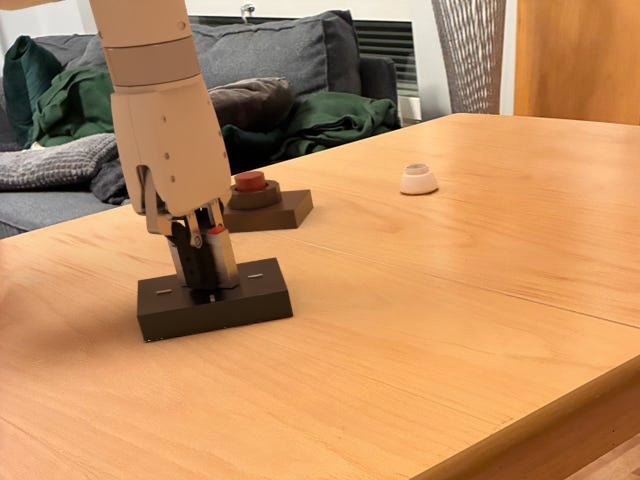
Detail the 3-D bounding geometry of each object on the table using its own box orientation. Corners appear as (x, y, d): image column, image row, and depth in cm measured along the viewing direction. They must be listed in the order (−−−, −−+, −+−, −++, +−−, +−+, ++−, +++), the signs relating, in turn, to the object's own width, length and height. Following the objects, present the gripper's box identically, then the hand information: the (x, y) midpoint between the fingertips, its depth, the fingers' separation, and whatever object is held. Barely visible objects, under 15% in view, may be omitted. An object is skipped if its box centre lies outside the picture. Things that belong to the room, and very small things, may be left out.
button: (233, 195, 116) (230, 179, 115) (242, 187, 119) (238, 172, 118) (262, 193, 116) (259, 177, 115) (270, 185, 119) (267, 169, 118)
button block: (201, 235, 117) (192, 200, 114) (222, 214, 124) (214, 180, 121) (297, 228, 116) (290, 193, 113) (313, 207, 123) (307, 173, 120)
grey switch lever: (179, 285, 94) (164, 229, 91) (189, 280, 95) (174, 224, 92) (231, 288, 92) (217, 231, 89) (240, 282, 93) (227, 226, 90)
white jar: (445, 186, 125) (413, 185, 127) (443, 162, 123) (410, 160, 125) (425, 197, 122) (392, 195, 124) (422, 172, 120) (389, 170, 122)
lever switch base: (144, 342, 90) (135, 314, 88) (145, 305, 98) (137, 278, 97) (293, 316, 92) (287, 288, 90) (281, 281, 101) (275, 255, 99)
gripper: (171, 51, 89) (222, 256, 100) (57, 85, 78) (128, 311, 89) (240, 48, 87) (284, 258, 98) (133, 83, 75) (196, 315, 87)
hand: (209, 282), depth 94 cm, fingers closed on grey switch lever
